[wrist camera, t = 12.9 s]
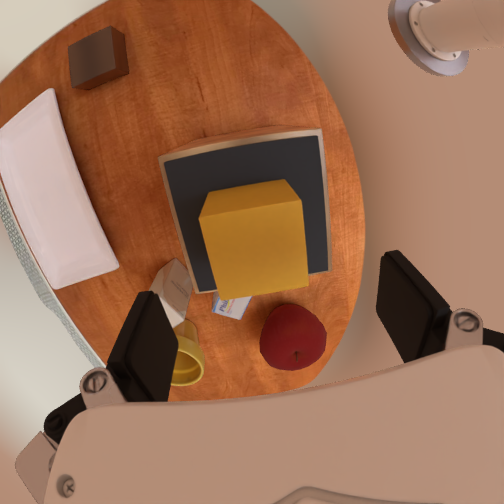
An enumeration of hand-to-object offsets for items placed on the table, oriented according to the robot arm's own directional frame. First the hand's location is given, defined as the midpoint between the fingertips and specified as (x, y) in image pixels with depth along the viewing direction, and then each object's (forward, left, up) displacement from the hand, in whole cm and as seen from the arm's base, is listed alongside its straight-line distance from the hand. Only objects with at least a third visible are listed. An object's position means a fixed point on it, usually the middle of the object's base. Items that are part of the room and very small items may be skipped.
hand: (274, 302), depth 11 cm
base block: (+17, -22, -30) cm, 41 cm away
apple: (-3, +26, -30) cm, 40 cm away
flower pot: (+17, +26, -30) cm, 44 cm away
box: (+14, +14, -30) cm, 36 cm away
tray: (+32, -5, -30) cm, 44 cm away
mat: (0, 0, -11) cm, 11 cm away
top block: (0, 0, -11) cm, 11 cm away
